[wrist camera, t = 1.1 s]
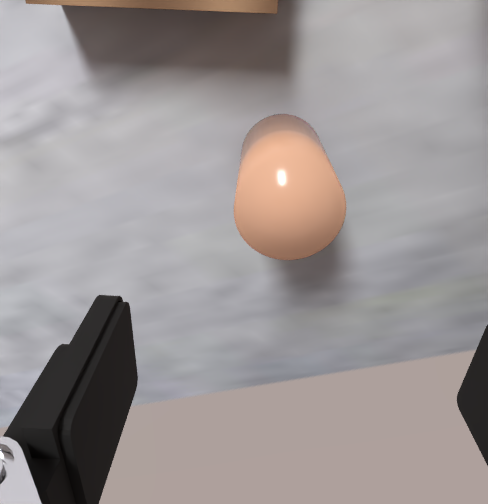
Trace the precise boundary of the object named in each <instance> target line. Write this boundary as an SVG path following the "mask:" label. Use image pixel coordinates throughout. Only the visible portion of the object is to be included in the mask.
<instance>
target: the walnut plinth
mask: <svg viewBox="0 0 488 504" xmlns="http://www.w3.org/2000/svg"><path fill="white" fill-rule="evenodd" d="M26 4H49V5H73V6H98V7H123V8H148V9H173V10H197V11H222V12H247V13H272V14H277V8H278V0H26Z"/></svg>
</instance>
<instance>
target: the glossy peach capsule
mask: <svg viewBox="0 0 488 504" xmlns="http://www.w3.org/2000/svg"><path fill="white" fill-rule="evenodd" d="M345 215H346V199H345V194H344V192H343V189H342V186H341V184H340V182H339V180H338V178H337V176H336V174H335V171H334V169H333V167H332V165H331V163H330V161H329V159H328V157H327V154H326V152H325V150H324V148H323V146H322V144H321V142H320V139H319V137H318V135H317V133H316V132H315V130H314V129H313V128H312V127H311V126H310V125H309V124H308V123H307V122H306V121H304V120H303V119H301V118H299V117H296V116H293V115H288V114H278V115H273V116H269V117H267V118H264V119H263V120H261V121H259V122H258V123H257V124H255V125H254V126H253V127H252V128H251V130H250V131H249V132H248V134H247V136H246V138H245V140H244V142H243V146H242V152H241V159H240V167H239V174H238V181H237V188H236V196H235V203H234V218H235V223H236V226H237V229H238V231H239V233H240V235H241V236H242V238H243V239H244V240H245V241H246V243H247V244H248V245H249V246H251V247H252V248H253V249H254V250H256V251H257V252H259V253H261V254H263V255H265V256H268V257H271V258H275V259H280V260H295V259H301V258H305V257H308V256H311V255H313V254H315V253H317V252H319V251H321V250H322V249H324V248H325V247H326V246H327V245H329V244H330V243H331V242H332V241H333V240H334V238H335V237H336V236H337V234H338V233H339V231H340V229H341V227H342V225H343V222H344V219H345Z"/></svg>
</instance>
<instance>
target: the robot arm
mask: <svg viewBox="0 0 488 504" xmlns="http://www.w3.org/2000/svg"><path fill="white" fill-rule="evenodd" d="M137 379H138V376H137V367H136V358H135V349H134V340H133V331H132V322H131V314H130V306H129V303H128V302H123V300H122V297H120V296H107V295H99V296H97V297H96V299H95V301H94V302H93V304H92V306H91V308H90V309H89V311H88V313H87V314H86V316H85V318H84V320H83V321H82V323H81V325H80V327H79V328H78V330H77V332H76V334H75V335H74V337H73V339H72V341H71V342H70V344H62V345H60V346H58V348H57V349H56V350H55V352H54V353H53V355H52V357H51V358H50V360H49V362H48V363H47V365H46V367H45V368H44V370H43V371H42V373H41V375H40V376H39V378H38V380H37V381H36V383H35V385H34V386H33V388H32V390H31V391H30V393H29V394H28V396H27V398H26V399H25V401H24V403H23V404H22V406H21V408H20V409H19V411H18V413H17V414H16V416H15V418H14V419H13V421H12V422H11V424H10V426H9V427H8V429H7V431H6V432H5V434H4V436H3V437H2V436H0V504H99V500H100V498H101V495H102V492H103V488H104V485H105V482H106V479H107V476H108V473H109V470H110V467H111V464H112V461H113V458H114V455H115V452H116V449H117V446H118V443H119V440H120V437H121V434H122V430H123V427H124V425H125V421H126V419H127V415H128V412H129V409H130V406H131V403H132V400H133V397H134V394H135V391H136V387H137ZM457 403H458V407H459V410H460V412H461V414H462V416H463V418H464V420H465V422H466V423H467V426H468V428H469V430H470V431H471V434H472V436H473V438H474V439H475V442H476V443H477V445H478V447H479V449H480V451H481V453H482V455H483V457H484V459H485V461H486V463H487V465H488V325H487V326H486V329H485V331H484V333H483V336H482V338H481V340H480V343H479V345H478V347H477V350H476V352H475V354H474V357H473V359H472V362H471V364H470V366H469V369H468V371H467V373H466V376H465V378H464V380H463V383H462V385H461V388H460V390H459V392H458V395H457Z"/></svg>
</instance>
